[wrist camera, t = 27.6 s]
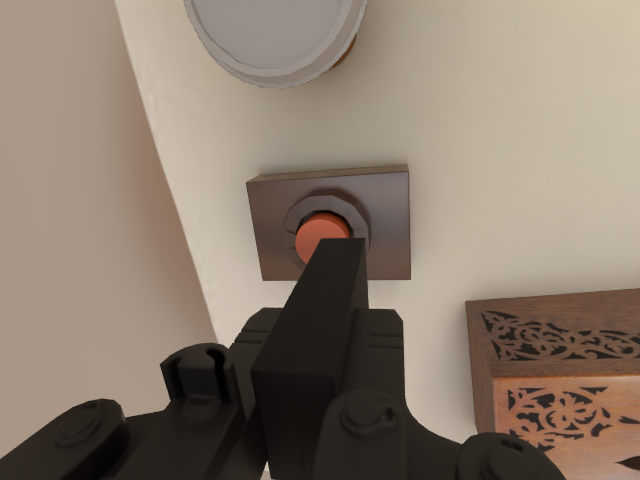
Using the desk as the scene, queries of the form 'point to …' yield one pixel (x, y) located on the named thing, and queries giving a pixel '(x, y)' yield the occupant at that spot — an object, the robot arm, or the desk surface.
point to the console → (338, 199)
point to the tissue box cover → (562, 377)
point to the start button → (318, 233)
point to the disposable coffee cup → (277, 37)
